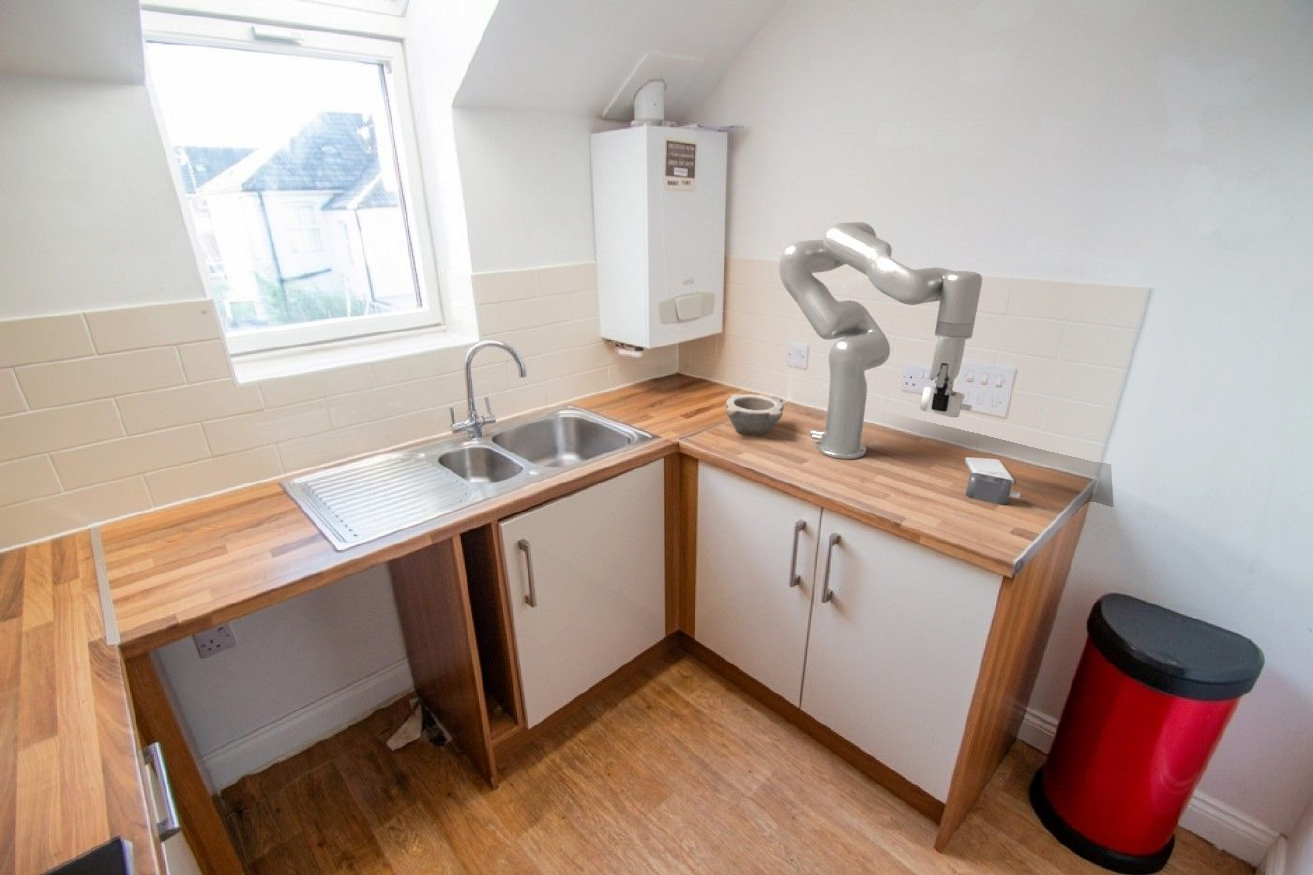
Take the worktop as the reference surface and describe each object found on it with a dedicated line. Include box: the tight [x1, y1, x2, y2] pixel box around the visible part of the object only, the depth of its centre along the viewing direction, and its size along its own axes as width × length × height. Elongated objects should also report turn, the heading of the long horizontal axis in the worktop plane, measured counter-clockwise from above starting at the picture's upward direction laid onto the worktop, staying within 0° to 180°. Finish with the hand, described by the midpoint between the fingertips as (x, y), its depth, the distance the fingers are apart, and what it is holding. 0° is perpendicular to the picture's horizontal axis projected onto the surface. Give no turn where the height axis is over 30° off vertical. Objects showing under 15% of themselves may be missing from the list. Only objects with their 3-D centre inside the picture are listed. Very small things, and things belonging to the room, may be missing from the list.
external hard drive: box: [964, 456, 1015, 485], centre depth 151 cm, size 2×8×12 cm
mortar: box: [725, 393, 785, 437], centre depth 179 cm, size 17×17×9 cm
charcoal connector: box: [965, 472, 1021, 506], centre depth 137 cm, size 11×4×5 cm, turn 56°
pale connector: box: [919, 386, 973, 418], centre depth 139 cm, size 11×4×5 cm, turn 56°
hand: (940, 407), depth 140 cm, fingers closed on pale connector, 3 cm apart
